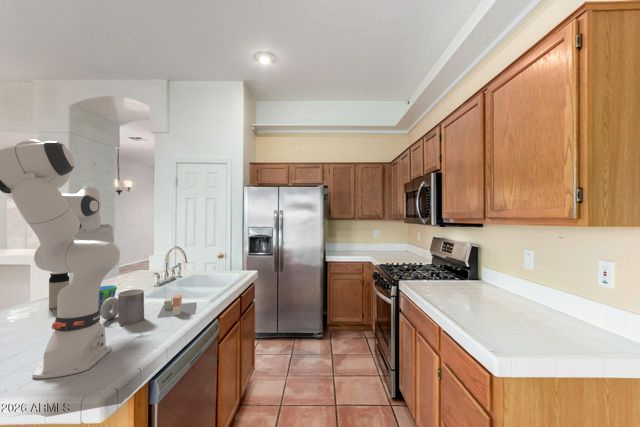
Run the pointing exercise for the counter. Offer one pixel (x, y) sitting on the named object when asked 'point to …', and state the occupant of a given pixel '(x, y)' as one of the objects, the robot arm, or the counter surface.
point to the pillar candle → (130, 307)
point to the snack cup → (106, 294)
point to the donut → (106, 306)
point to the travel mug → (56, 287)
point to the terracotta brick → (177, 300)
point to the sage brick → (168, 303)
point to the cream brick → (176, 310)
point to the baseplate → (185, 310)
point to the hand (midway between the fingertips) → (88, 256)
